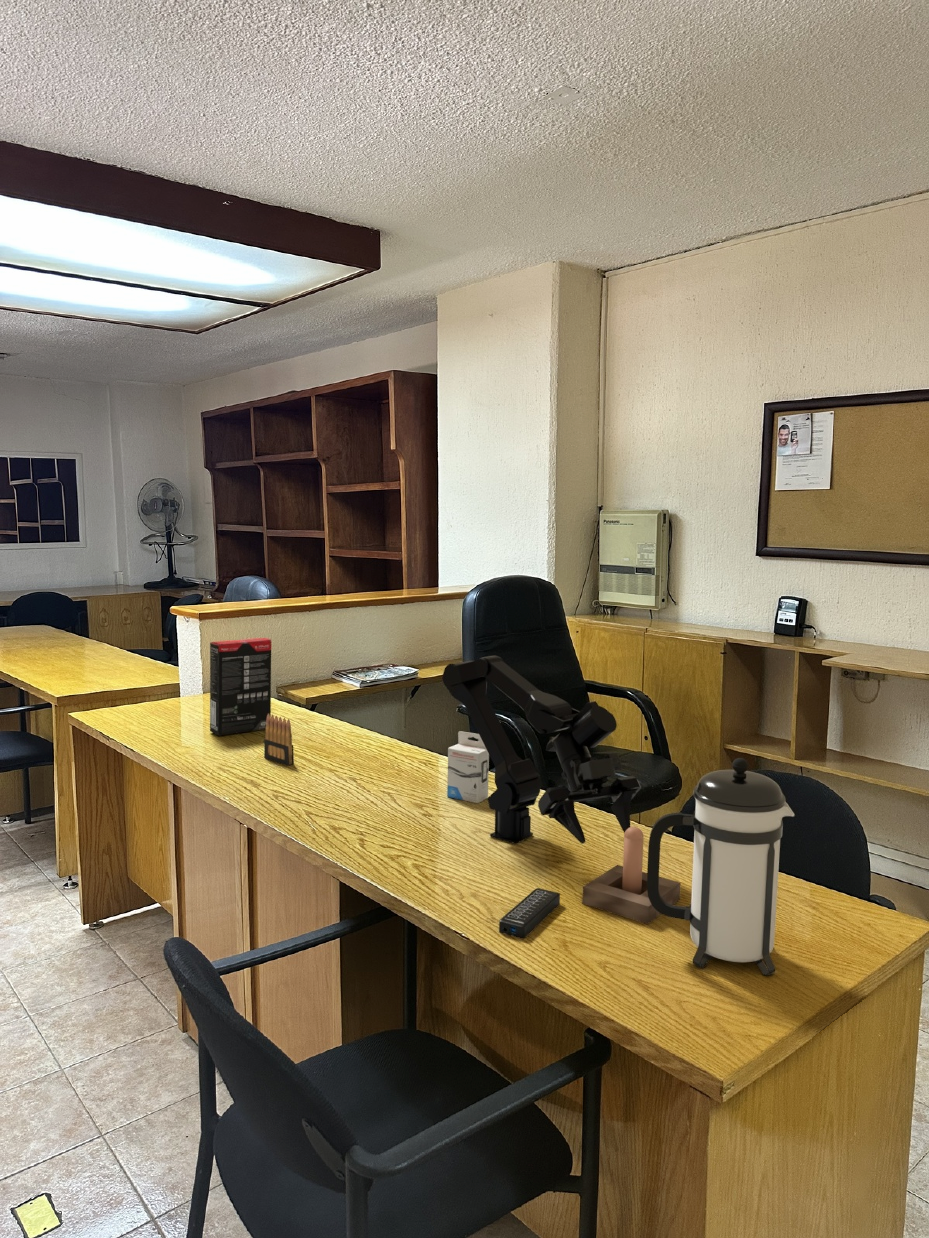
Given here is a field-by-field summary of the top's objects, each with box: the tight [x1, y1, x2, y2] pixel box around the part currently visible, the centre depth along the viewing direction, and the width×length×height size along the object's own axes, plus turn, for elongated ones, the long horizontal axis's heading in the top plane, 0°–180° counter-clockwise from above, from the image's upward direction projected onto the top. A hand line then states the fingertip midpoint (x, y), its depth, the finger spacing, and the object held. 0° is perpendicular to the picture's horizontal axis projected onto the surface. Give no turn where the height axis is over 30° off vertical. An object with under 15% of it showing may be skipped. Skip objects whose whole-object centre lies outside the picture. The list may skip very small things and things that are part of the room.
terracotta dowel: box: [622, 826, 645, 895], centre depth 149 cm, size 3×3×13 cm
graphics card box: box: [209, 637, 272, 736], centre depth 261 cm, size 17×7×27 cm, turn 130°
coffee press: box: [646, 757, 795, 977], centre depth 130 cm, size 17×16×30 cm
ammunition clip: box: [263, 713, 295, 767], centre depth 231 cm, size 11×2×12 cm, turn 47°
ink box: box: [446, 730, 490, 804], centre depth 203 cm, size 8×5×15 cm, turn 60°
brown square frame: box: [582, 864, 682, 925], centre depth 150 cm, size 12×12×3 cm
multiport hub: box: [498, 887, 561, 939], centre depth 144 cm, size 4×14×2 cm, turn 151°
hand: (606, 838), depth 156 cm, fingers open, 9 cm apart
